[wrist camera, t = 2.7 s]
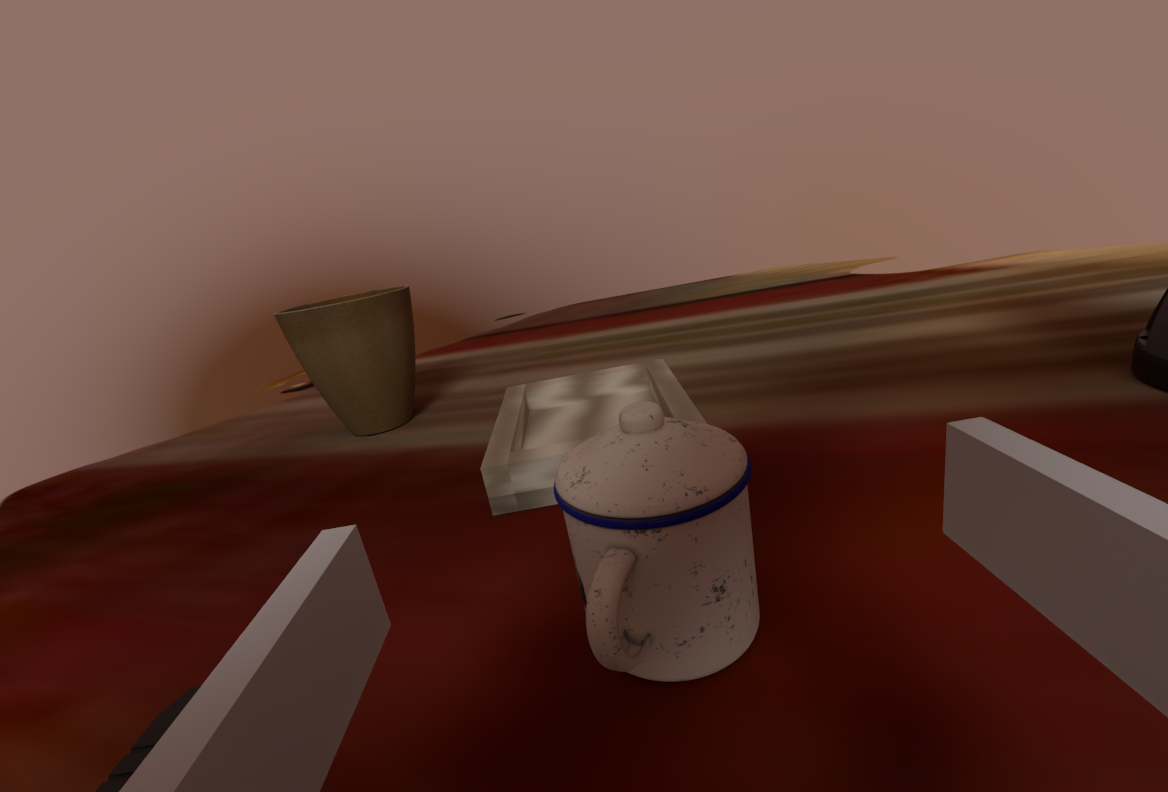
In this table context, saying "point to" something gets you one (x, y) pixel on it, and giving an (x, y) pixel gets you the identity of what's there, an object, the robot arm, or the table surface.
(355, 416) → the plant pot
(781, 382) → the table surface
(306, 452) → the table surface
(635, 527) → the teacup with lid
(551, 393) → the square tray
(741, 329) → the table surface
